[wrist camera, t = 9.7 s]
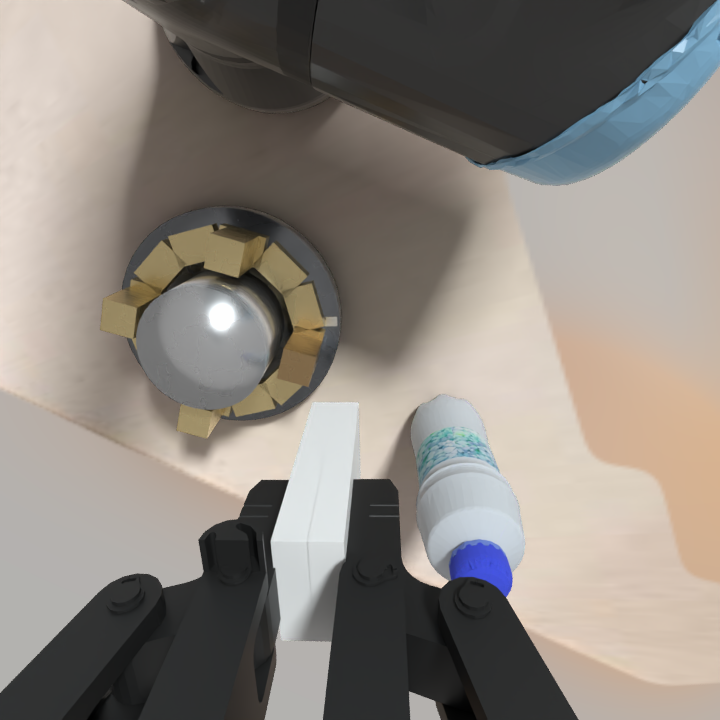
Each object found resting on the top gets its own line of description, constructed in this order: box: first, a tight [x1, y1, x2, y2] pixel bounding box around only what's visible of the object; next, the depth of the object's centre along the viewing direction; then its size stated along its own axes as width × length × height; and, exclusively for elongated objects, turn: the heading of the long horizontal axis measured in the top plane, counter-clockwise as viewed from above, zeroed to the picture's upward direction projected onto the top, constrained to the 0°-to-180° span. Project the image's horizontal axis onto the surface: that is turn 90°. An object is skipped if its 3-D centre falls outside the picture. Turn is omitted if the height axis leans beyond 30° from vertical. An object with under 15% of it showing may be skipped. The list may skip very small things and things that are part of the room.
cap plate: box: [122, 206, 342, 420], centre depth 39 cm, size 18×18×9 cm
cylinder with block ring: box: [100, 223, 326, 439], centre depth 38 cm, size 15×15×5 cm
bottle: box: [411, 394, 525, 597], centre depth 36 cm, size 7×7×20 cm
